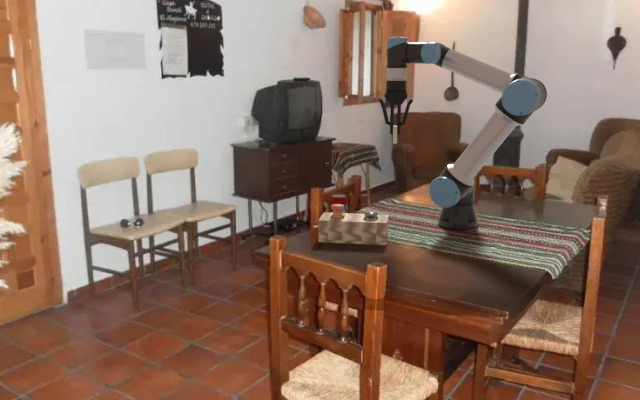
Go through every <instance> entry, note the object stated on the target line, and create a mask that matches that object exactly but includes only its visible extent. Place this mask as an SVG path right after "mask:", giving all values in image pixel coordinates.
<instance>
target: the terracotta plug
mask: <svg viewBox="0 0 640 400" xmlns="http://www.w3.org/2000/svg"><path fill="white" fill-rule="evenodd" d="M331 209H332V210H333V218H335V219H342V217H343V209H344V205H342V204H333V205H331Z"/></svg>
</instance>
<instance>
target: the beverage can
mask: <svg viewBox="0 0 640 400" xmlns="http://www.w3.org/2000/svg"><path fill="white" fill-rule="evenodd" d="M348 200H349V198H347V195H346V194H343V193H335V194H334V193H333V194H332V195H331V198H330V202H329V203H330V204H329V206H330V208H329V209H330V211H329V213H333V210H332V209H331V205H333V204H342V205H344V209H343V213H348V212H349V211H348V210H349V209H348V208H349V207H348V206H349V205H348V203H349V201H348Z"/></svg>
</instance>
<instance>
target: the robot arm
mask: <svg viewBox="0 0 640 400" xmlns="http://www.w3.org/2000/svg"><path fill="white" fill-rule="evenodd" d="M408 39H409V38H408V37H407V36H391V37H389V38H388V39H387V43H386V44H387V45H386V75H385V76H386V78H385V79H387V80H386V84H385V85H386V86H385V87H386V88H385V91H386V92H385V94H384V96H383V97H381V98H379V100H378V102H379V103H380V105H381V108H382V114H383V117H384V122H385V124H386V125H388V126H389V127H390V128H389V134H390V135H392V144H398V136H399V135H400V134H401V127H402V126H403V125H405V124H406V123H407V118H408V114H409V111H410V108H411V104H412V103H413V102H414V99H413V98H411V97H409V96H408V93H407V83H408V82H407V78H408V77H407V76H408V75H407V73H408V66H407V65H409V64H417V65H418V64H421V65H422V64H423V65H424V64H427V65H432V64H433V65H435V66H437V67H440V68H442V69H444V70H446V71H449V72H451V73H454V74H456V75H459V76H461V77H463V78H465V79H467V80H470V81H472V82H474V83H476V84H479V85H481V86H483V87H486V88H487V89H491V90H493V91H495V92H497V93H500V94H502V95H501V96H500V97H499V99H498V100H497V102H496V103H495V104H494V107H495V112H494V113H493V114H492V115H491V117H489V119H488V120H487V121H486V123H485V124H484V125H483V126H482V128H481V129H480V130H479V132H478V133H477V134H476V135H475V137H474V138H473V139H472V140H471V142H469V145H468V146H467V147H466V148H465V149H464V151H463V152H462V153H461V154H460V156H459V157H458V158H457V159H456V161H455V162H454V163H448V164H447V166H445V167H444V169H443V170H442V171H441V173H440V174H439V176H437V177H435V178H434V179H433V180H432V181H431V183H430V185H429V187H428V194H429V197H430V199H431V201H432V202H433V203H434V204H435V205H436V206H438V207H440V208H441V209H440V213H439V215H438V220H437V224H438V225H439V226H441V227H442V228H446V229H451V230H452V229H454V230H471V229H475V228H477V227H478V224H479V223H478V221H479V220H478V218H477V213H476V209H475V206H474V205H475V190H476V189H475V188H476V178H477V174H478V173H479V172H480V171H481V170H482V168H483V167H484V166H485V164H486V163H487V162H489V161H488V160H490V159H491V158H492V156H493V154H495V153H496V151H497V150H498V148H500V147H501V145H502V144H503V143H504V141H505V140H506V139H507V138H508V136H509V135H510V134H511V133H512V132H513V130H515V129H516V127H518V126H523V125H524V124H525V123H526V122H527V121H528V120H529V118H530V117H531V116H532V115H533V113H535V111H537V110H539V109H541V107H543V106H544V104H545V103H546V100H547V97H548V93H547V92H548V90H547V88H546V86H545V84H544V83H543V82H542V81H541V80H539V79H536V78H533V77H529V76H526V75H523V74H520V73H517V72H516V73H513V74H512V73H510V72H507V71H505V70H502V69H500V68H498V67H495V66H493V65H491V64H488V63H486V62H483V61H481V60H479V59H477V58H475V57H472V56H469V55H467V54H464V53H462V52H460V51H457V50H455V49H452V48H449V47H448V46H446V45H444V44H443V43H441V42H435V41H419V42H417V41H416V42H411V41H408ZM405 101H406V103H407V104H406V107H405V110H404V114H403V117H402V113H401V112H402V105H403V103H404V102H405ZM386 102H388V104H389V105H390V115H389V116H390V119H389V116H388V111H387V108H386V107H387V105H386V104H385V103H386ZM395 106H397V108H396V109H397V114H396V115H397V117H396V119H397V120H396V121H397V122H396V125H395ZM401 118H402V119H401Z"/></svg>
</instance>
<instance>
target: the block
mask: <svg viewBox="0 0 640 400" xmlns="http://www.w3.org/2000/svg"><path fill="white" fill-rule="evenodd" d="M389 217H390V216H389V214H380V213H379V214H378V213H377V217H376V220H366V217H365V216H364V213H351V212H350V213H343V217H342V219H335V218H333V213H330V211H329V212H326V211H325V212H323V213H322V215H321V216H320V217H319V219H318V228H317V229H318V243H329V244H330V243H333V244H350V245H351V244H352V245H353V244H354V245H372V246H373V245H374V246H387V243H388V238H389V220H390V219H389Z"/></svg>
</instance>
